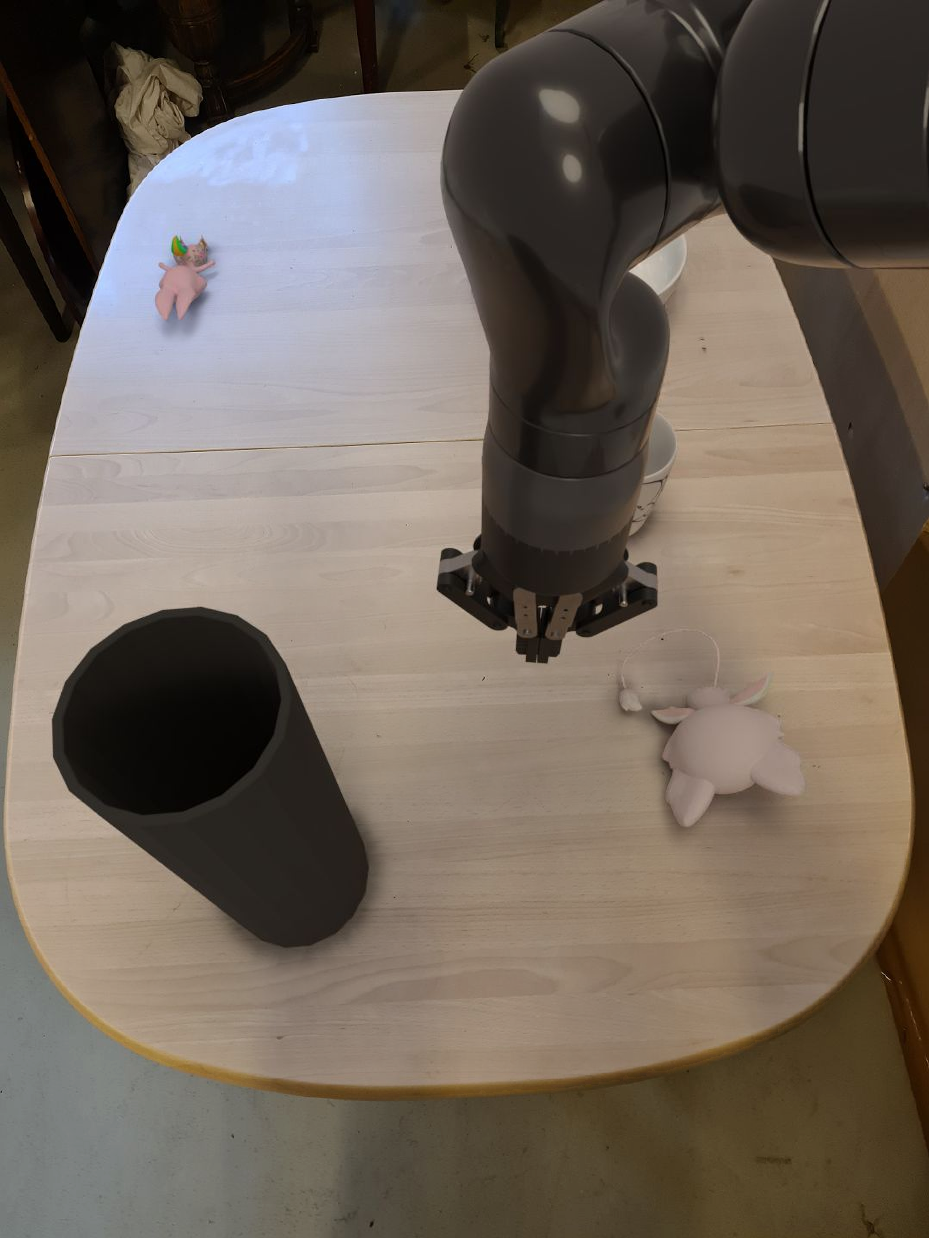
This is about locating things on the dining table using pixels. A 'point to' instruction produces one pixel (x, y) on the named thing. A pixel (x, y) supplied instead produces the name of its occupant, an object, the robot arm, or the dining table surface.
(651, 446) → the mug
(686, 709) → the toy
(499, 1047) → the dining table surface
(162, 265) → the pink soft figure
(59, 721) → the vase
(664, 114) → the robot arm
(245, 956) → the dining table surface
